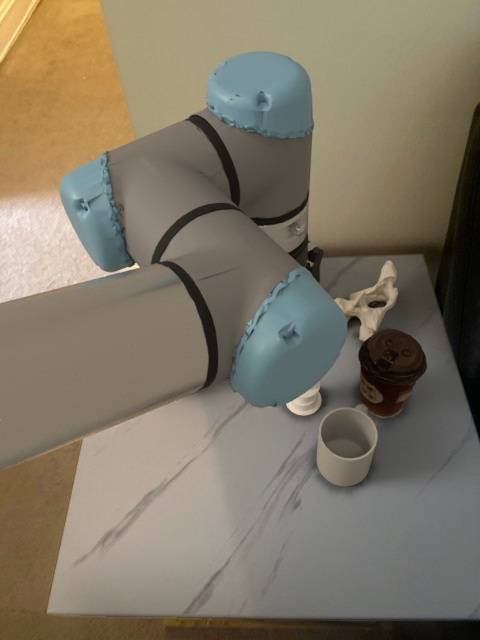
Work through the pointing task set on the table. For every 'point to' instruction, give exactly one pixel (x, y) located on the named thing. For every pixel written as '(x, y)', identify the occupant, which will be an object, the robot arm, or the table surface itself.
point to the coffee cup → (389, 370)
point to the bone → (371, 302)
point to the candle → (306, 402)
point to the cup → (346, 445)
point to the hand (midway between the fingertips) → (273, 369)
